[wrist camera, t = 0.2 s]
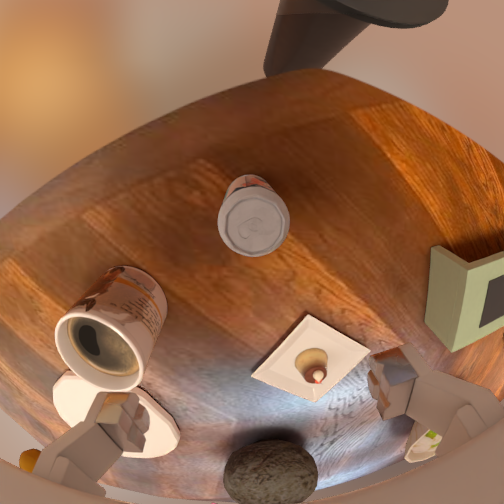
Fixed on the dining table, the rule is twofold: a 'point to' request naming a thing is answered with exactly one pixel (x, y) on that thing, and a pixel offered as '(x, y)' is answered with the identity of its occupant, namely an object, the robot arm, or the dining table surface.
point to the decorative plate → (83, 394)
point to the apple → (29, 459)
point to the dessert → (311, 360)
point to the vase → (270, 473)
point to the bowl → (421, 443)
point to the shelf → (464, 297)
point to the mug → (113, 329)
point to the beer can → (253, 217)
